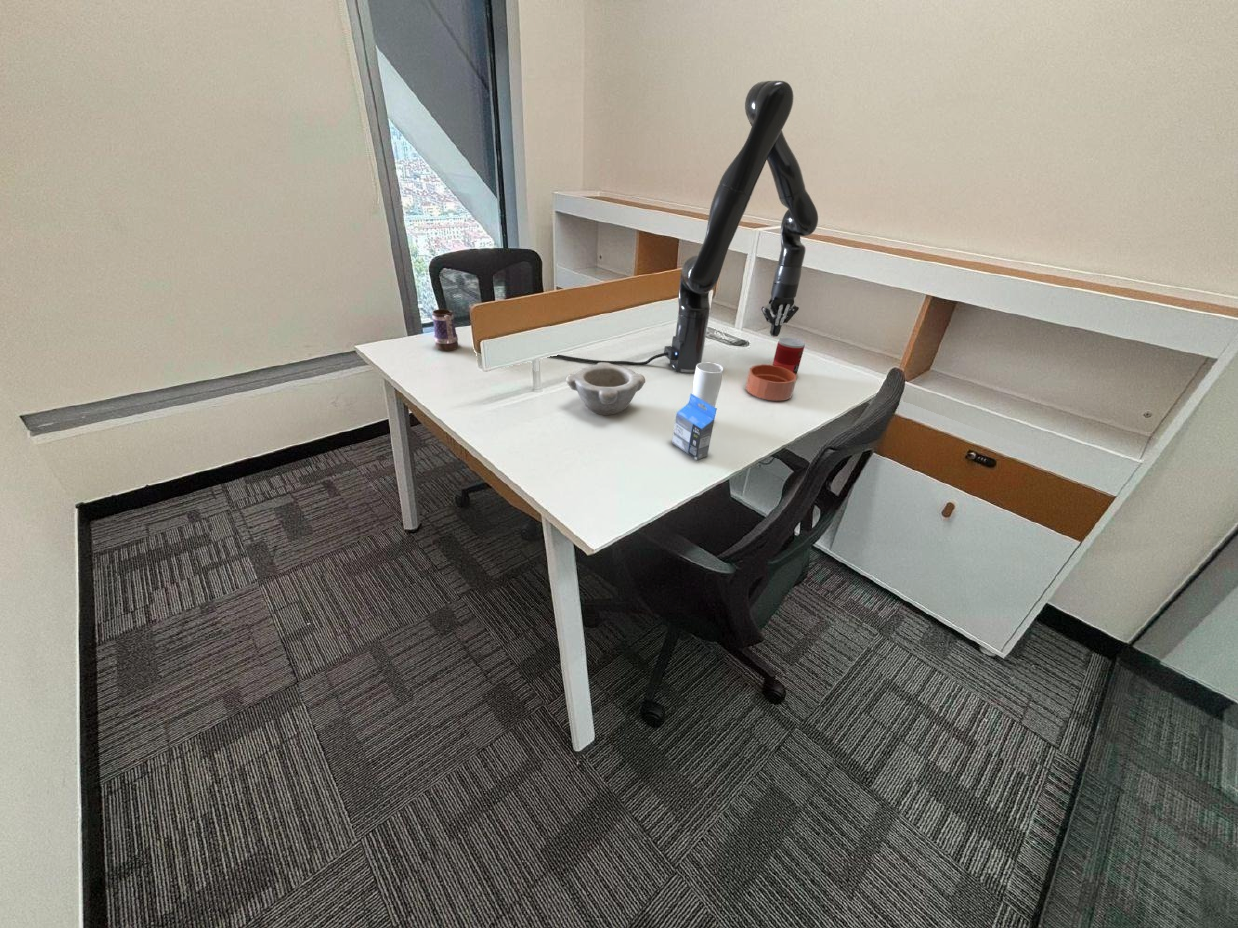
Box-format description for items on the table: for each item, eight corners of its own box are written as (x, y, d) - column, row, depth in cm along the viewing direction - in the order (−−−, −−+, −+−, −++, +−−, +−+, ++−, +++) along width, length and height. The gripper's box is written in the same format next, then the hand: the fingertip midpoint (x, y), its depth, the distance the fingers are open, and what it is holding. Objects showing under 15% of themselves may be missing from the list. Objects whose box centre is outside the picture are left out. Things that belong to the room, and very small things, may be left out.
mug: (433, 345, 162) (428, 308, 155) (455, 342, 165) (451, 306, 158) (440, 356, 155) (435, 317, 148) (463, 353, 158) (459, 315, 151)
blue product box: (671, 443, 119) (677, 396, 112) (683, 439, 120) (690, 392, 114) (696, 460, 113) (704, 412, 106) (708, 456, 115) (717, 408, 108)
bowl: (761, 404, 139) (766, 384, 136) (737, 384, 150) (740, 366, 147) (800, 400, 143) (806, 380, 140) (774, 381, 154) (779, 362, 151)
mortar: (560, 405, 131) (560, 373, 126) (604, 388, 142) (606, 357, 137) (605, 429, 122) (607, 396, 117) (649, 408, 133) (652, 377, 128)
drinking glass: (707, 430, 125) (717, 375, 117) (683, 422, 128) (691, 367, 119) (717, 420, 130) (728, 366, 121) (694, 412, 132) (702, 359, 124)
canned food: (797, 381, 155) (806, 347, 149) (771, 377, 156) (779, 344, 150) (794, 372, 161) (803, 339, 155) (769, 368, 162) (777, 336, 156)
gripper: (797, 276, 156) (784, 330, 166) (761, 278, 152) (750, 333, 162) (812, 282, 150) (798, 338, 160) (775, 284, 146) (762, 341, 156)
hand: (773, 335), depth 161 cm, fingers closed
